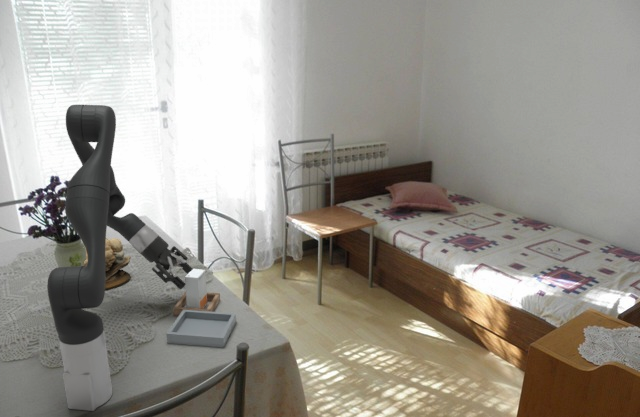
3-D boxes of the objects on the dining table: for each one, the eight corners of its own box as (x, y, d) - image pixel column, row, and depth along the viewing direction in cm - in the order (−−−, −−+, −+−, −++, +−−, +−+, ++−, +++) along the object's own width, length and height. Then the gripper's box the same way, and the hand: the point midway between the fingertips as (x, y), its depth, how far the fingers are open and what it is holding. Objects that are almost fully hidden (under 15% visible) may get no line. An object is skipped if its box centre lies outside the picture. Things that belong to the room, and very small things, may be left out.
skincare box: (200, 313, 159) (197, 278, 155) (186, 312, 159) (184, 276, 155) (208, 303, 164) (205, 269, 160) (195, 302, 165) (192, 268, 161)
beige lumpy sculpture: (126, 269, 186) (121, 225, 181) (138, 282, 178) (134, 235, 172) (72, 283, 176) (66, 236, 170) (83, 297, 167) (76, 248, 161)
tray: (223, 347, 142) (223, 338, 141) (167, 343, 144) (166, 333, 143) (236, 322, 154) (235, 313, 153) (183, 318, 156) (183, 309, 155)
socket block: (209, 318, 156) (208, 311, 155) (173, 315, 157) (173, 308, 156) (220, 300, 166) (219, 293, 166) (186, 298, 167) (186, 291, 167)
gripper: (146, 245, 148) (188, 284, 151) (165, 227, 162) (203, 263, 165) (130, 261, 151) (172, 299, 153) (150, 242, 164) (188, 277, 167)
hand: (188, 280), depth 159 cm, fingers open, 8 cm apart
